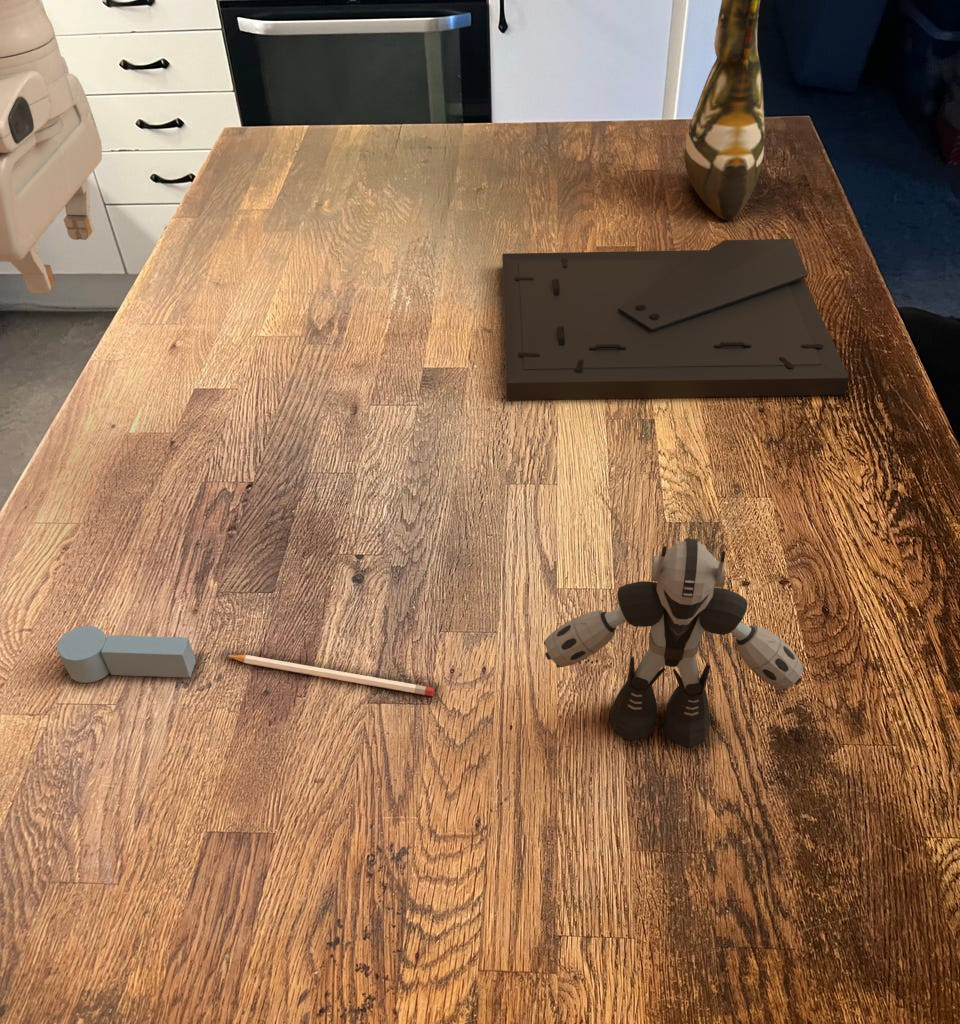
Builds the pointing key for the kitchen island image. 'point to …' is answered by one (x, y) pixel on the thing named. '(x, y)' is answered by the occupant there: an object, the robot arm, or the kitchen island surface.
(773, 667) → the robot
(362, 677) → the pencil
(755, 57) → the statue
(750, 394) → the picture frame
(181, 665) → the grey mallet
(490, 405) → the kitchen island surface
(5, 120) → the robot arm
